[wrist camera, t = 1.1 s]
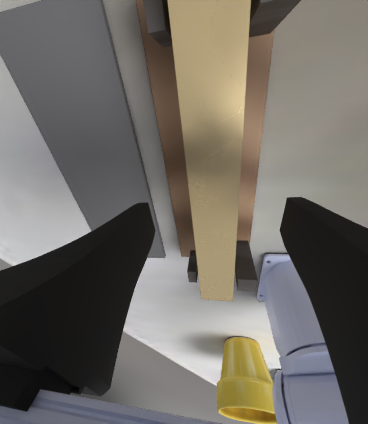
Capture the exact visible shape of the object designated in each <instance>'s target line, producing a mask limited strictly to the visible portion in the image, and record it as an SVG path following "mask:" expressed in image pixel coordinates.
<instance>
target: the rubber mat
mask: <svg viewBox="0 0 368 424" xmlns="http://www.w3.org/2000/svg"><path fill="white" fill-rule="evenodd" d="M0 54H1V56H2V58H3V60H4V62H5V64H6V66H7V68H8V70H9V72H10V74H11V76H12V78H13V80H14V82H15V84H16V85H17V87H18V89H19V91H20V93H21V95H22V97H23V99H24V101H25V103H26V105H27V107H28V109H29V111H30V113H31V115H32V116H33V118H34V120H35V122H36V124H37V126H38V128H39V130H40V132H41V134H42V136H43V138H44V140H45V142H46V144H47V146H48V147H49V149H50V151H51V153H52V155H53V157H54V159H55V161H56V163H57V165H58V167H59V169H60V171H61V173H62V175H63V176H64V178H65V180H66V182H67V184H68V186H69V188H70V190H71V192H72V194H73V196H74V198H75V200H76V202H77V204H78V206H79V207H80V209H81V211H82V213H83V215H84V217H85V219H86V221H87V223H88V225H89V227H90V229H91V231H93V230H95V229H96V228H98V227H100V226H101V225H103V224H105V223H106V222H108V221H110V220H111V219H113V218H114V217H116V216H117V215H119V214H120V213H122V212H123V211H125V210H126V209H128V208H130V207H131V206H133V205H135V204H137V203H145V202H148V204H149V207H150V211H151V215H152V219H153V222H154V226H155V230H156V231H155V236H154V240H153V243H152V247H151V249H150V252H149V254H148V258H165V256H166V255H165V251H164V247H163V243H162V239H161V235H160V231H159V227H158V223H157V219H156V215H155V211H154V207H153V203H152V199H151V195H150V191H149V187H148V183H147V179H146V175H145V171H144V167H143V163H142V158H141V154H140V150H139V146H138V142H137V138H136V134H135V130H134V126H133V122H132V118H131V114H130V110H129V106H128V102H127V98H126V94H125V90H124V86H123V82H122V78H121V74H120V70H119V66H118V62H117V58H116V54H115V50H114V45H113V41H112V37H111V33H110V29H109V25H108V21H107V17H106V13H105V9H104V5H103V1H102V0H41V1H38V2H34V3H31V4H28V5H24V6H21V7H17V8H14V9H10V10H7V11H3V12H0Z"/></svg>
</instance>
